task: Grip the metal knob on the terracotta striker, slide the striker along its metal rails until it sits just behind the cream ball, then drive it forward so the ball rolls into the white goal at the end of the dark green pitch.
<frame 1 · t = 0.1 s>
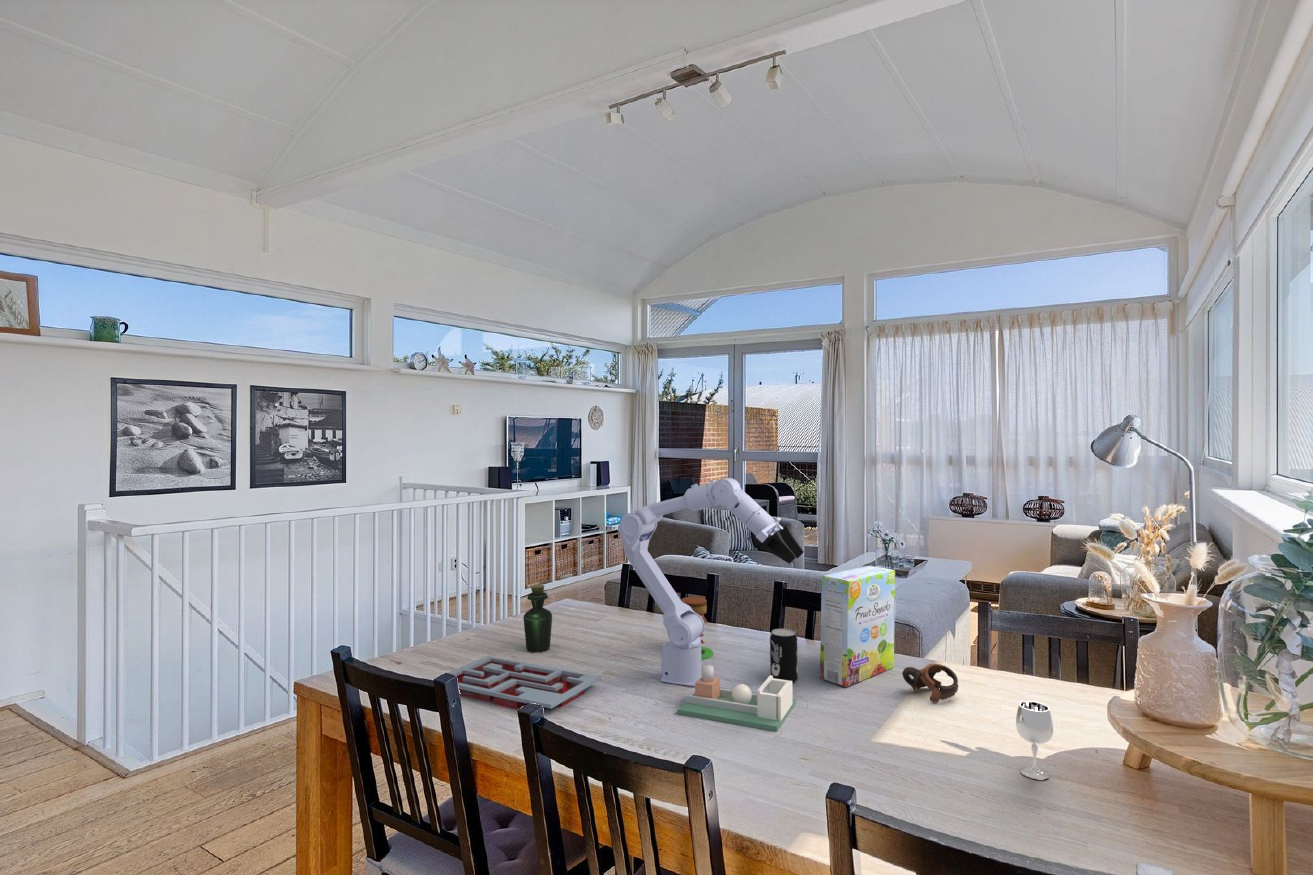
hand: (796, 557, 158), 32 cm above the table, tool tilted 50°, fingers open, 7 cm apart
toy burger: (694, 654, 190), on the table
beverage can: (784, 681, 169), on the table
brown curved loop: (930, 696, 158), on the table
wineglass: (1034, 775, 121), on the table
snack box: (858, 674, 173), on the table
ball: (741, 694, 151), point 3 cm above the table, touching pitch board
striker: (707, 682, 155), point 5 cm above the table, slide at 0.0 cm
goal: (775, 714, 148), resting on pitch board
maze game: (516, 691, 164), on the table
potion bottle: (538, 650, 195), on the table
pitch board: (737, 708, 152), on the table
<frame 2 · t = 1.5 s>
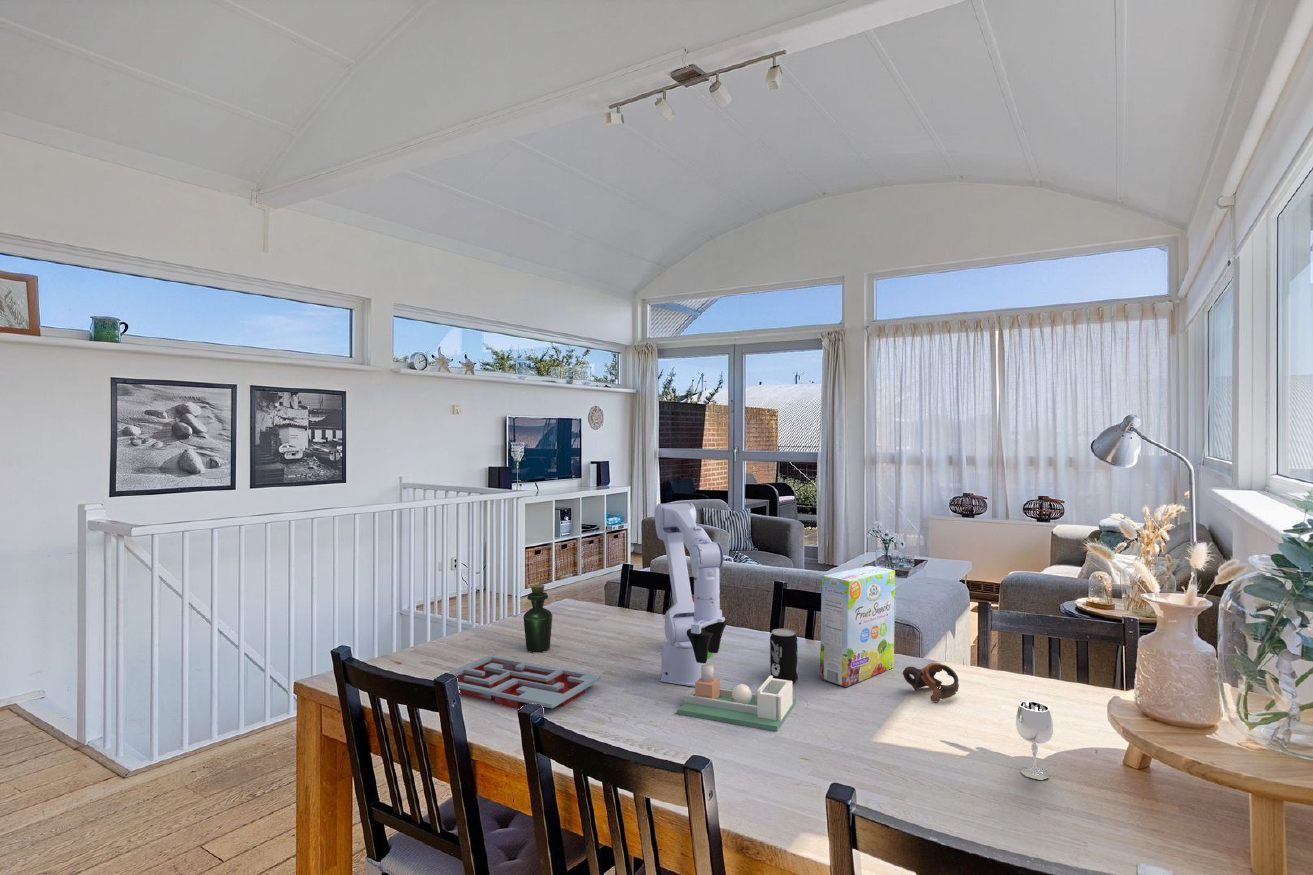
hand: (707, 657, 154), 10 cm above the table, tool pointing down, fingers open, 7 cm apart
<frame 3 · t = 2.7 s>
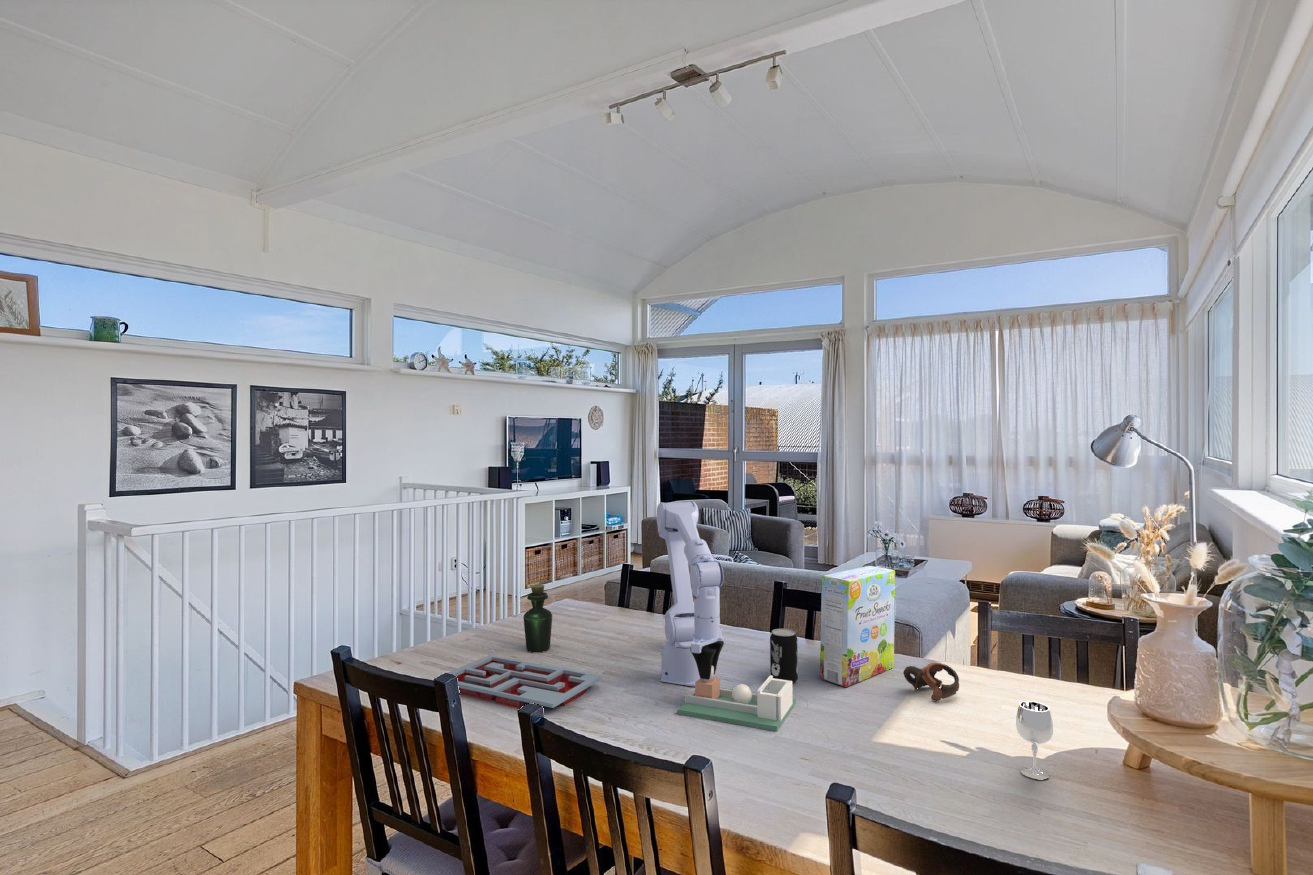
hand: (707, 676, 155), 6 cm above the table, tool pointing down, fingers closed on striker, 3 cm apart
striker: (707, 682, 155), point 5 cm above the table, slide at 0.0 cm, touching gripper
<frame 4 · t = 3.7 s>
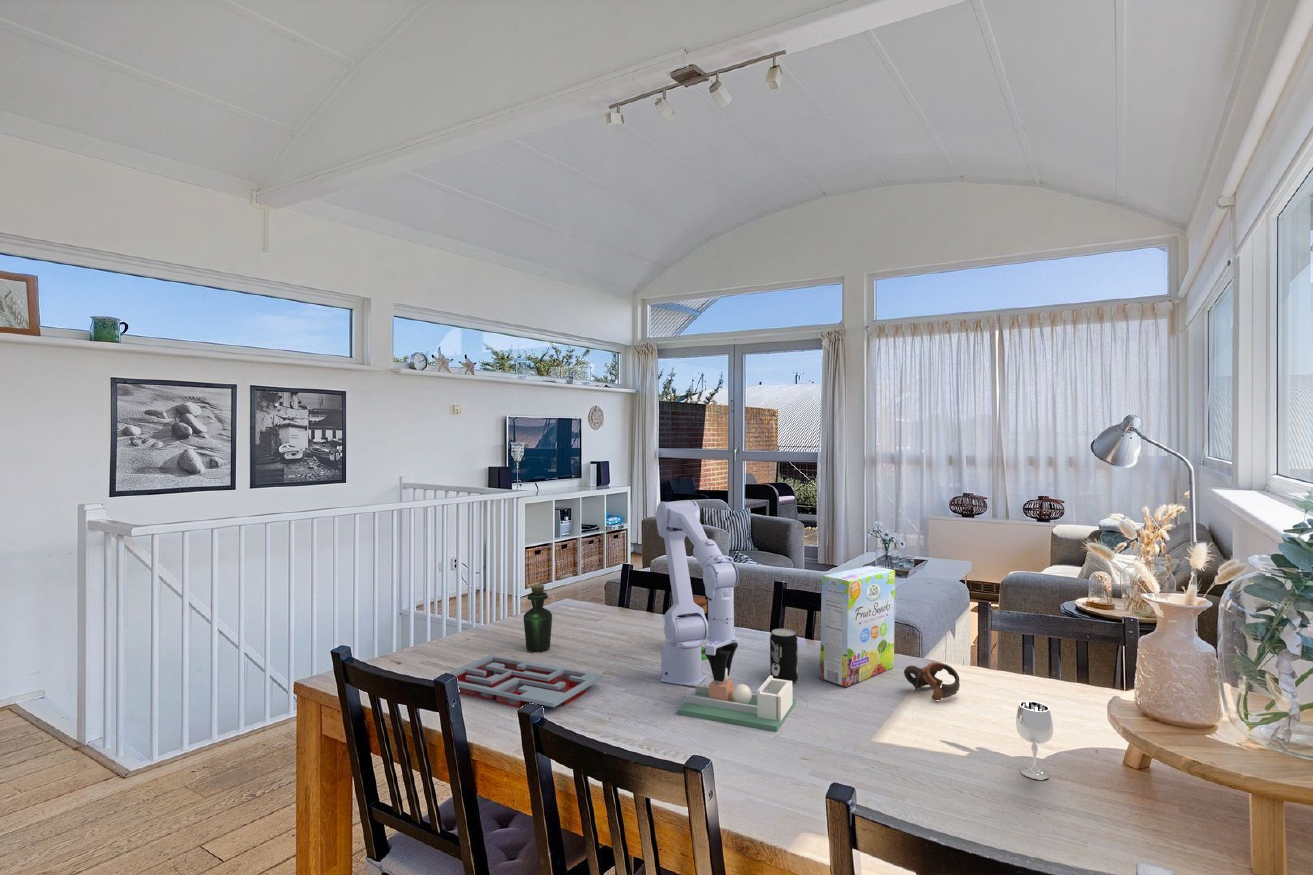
hand: (721, 678, 153), 6 cm above the table, tool pointing down, fingers closed on striker, 3 cm apart
striker: (721, 684, 153), point 5 cm above the table, slide at 3.2 cm, touching gripper
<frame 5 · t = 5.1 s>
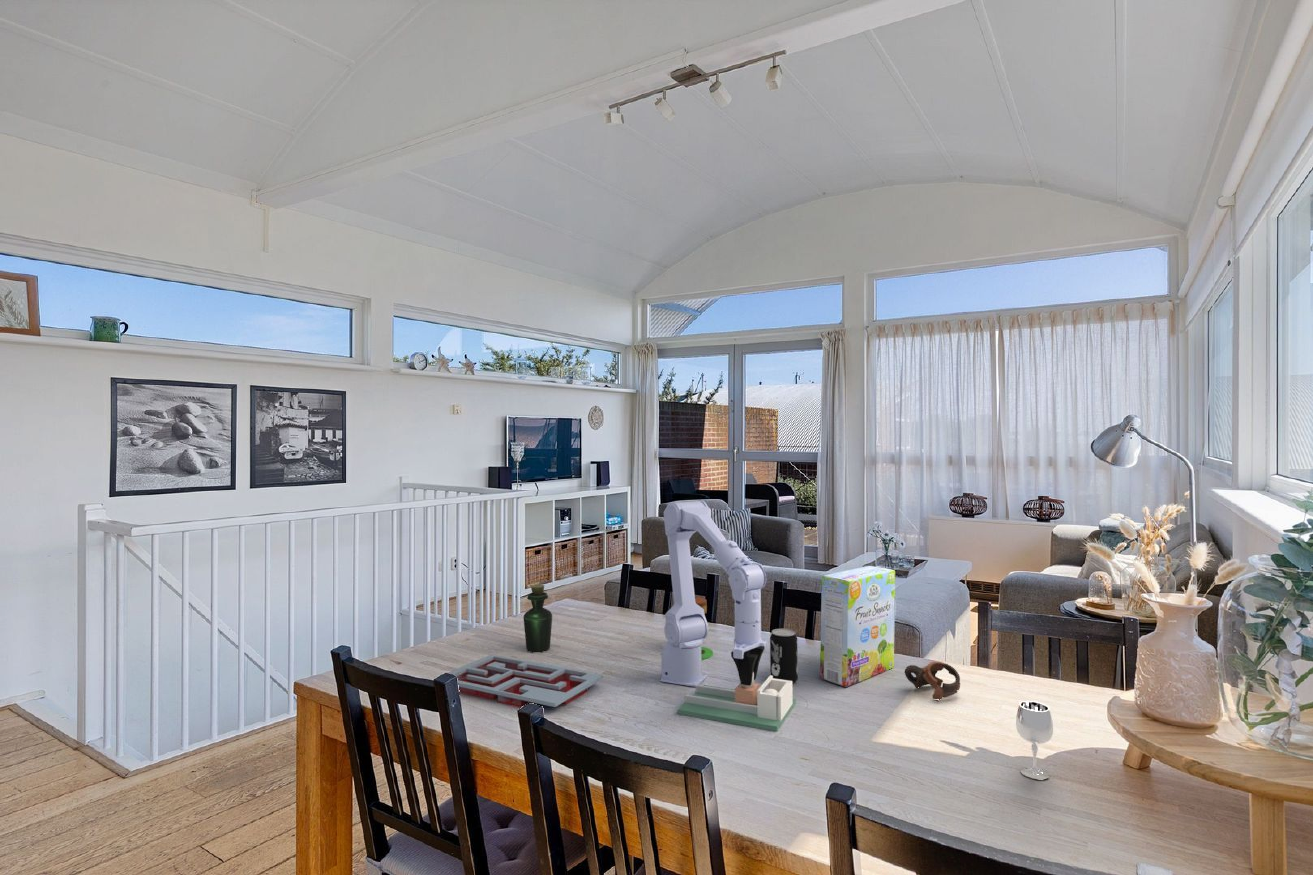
hand: (748, 681, 151), 6 cm above the table, tool pointing down, fingers closed on striker, 3 cm apart
ball: (771, 699, 148), point 3 cm above the table, tilted 170°, touching pitch board
striker: (747, 688, 151), point 5 cm above the table, slide at 9.3 cm, touching gripper
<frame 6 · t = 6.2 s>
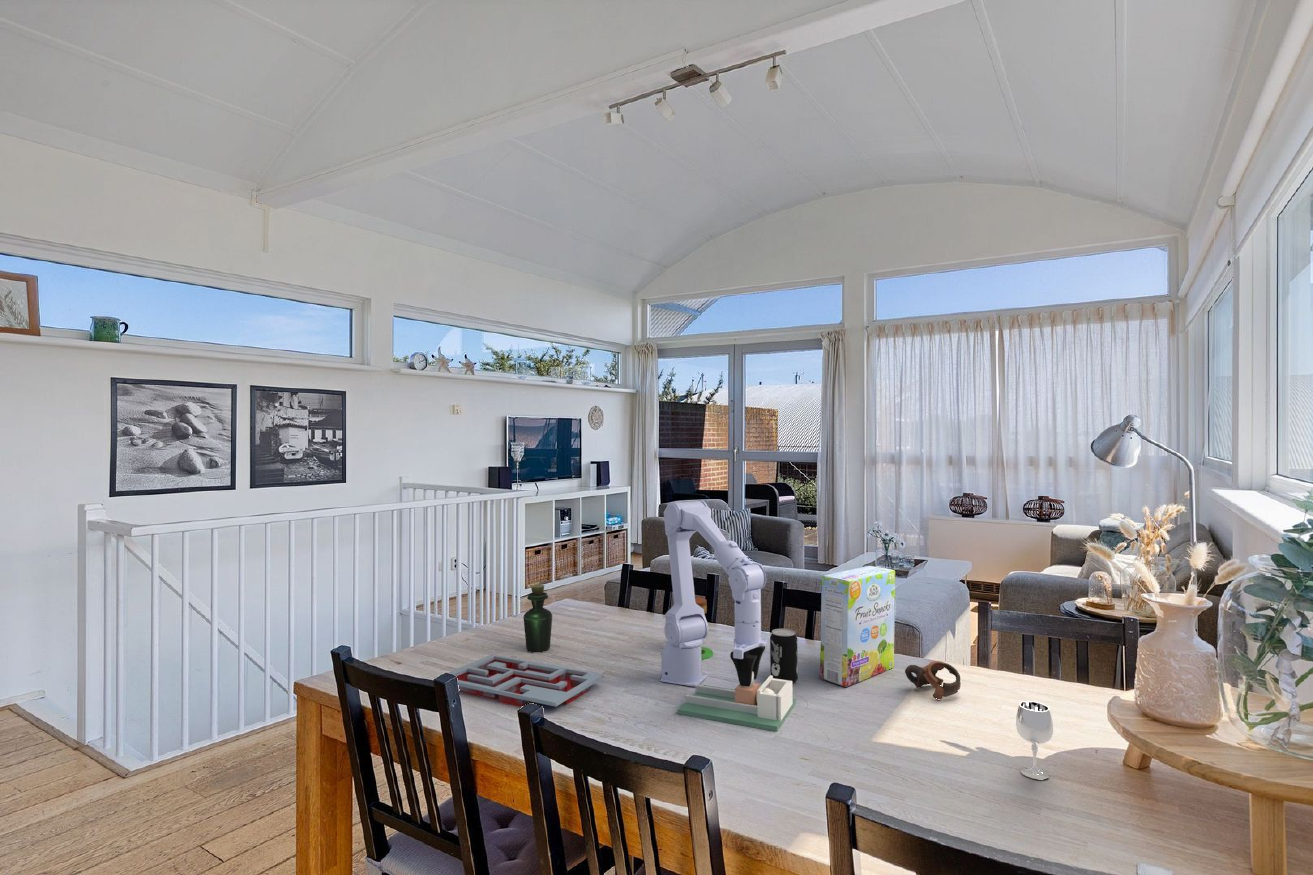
hand: (748, 682, 151), 6 cm above the table, tool pointing down, fingers open, 4 cm apart
ball: (766, 698, 149), point 3 cm above the table, tilted 141°, touching pitch board
striker: (747, 688, 151), point 5 cm above the table, slide at 9.3 cm
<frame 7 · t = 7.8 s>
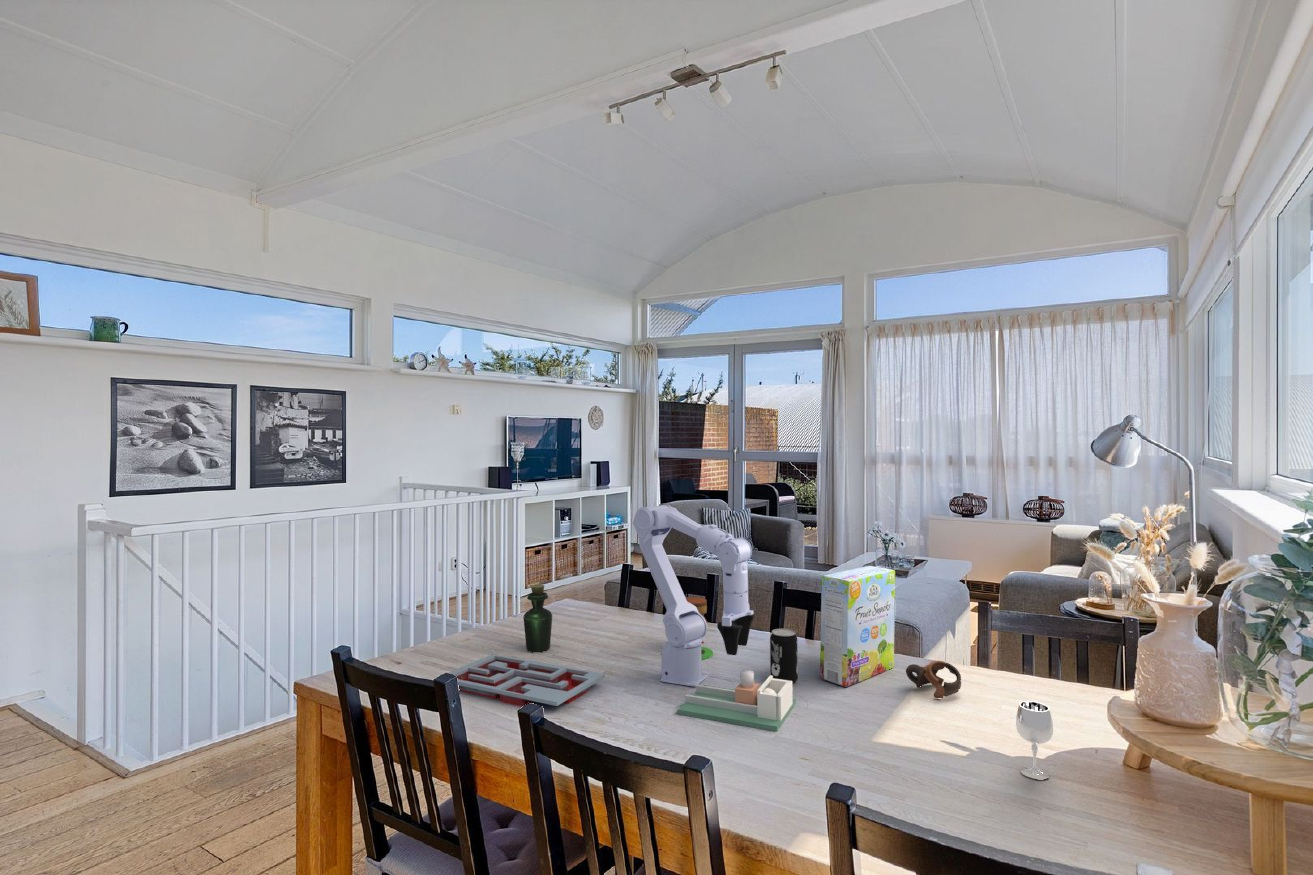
hand: (737, 649, 160), 10 cm above the table, tool pointing down, fingers open, 7 cm apart
ball: (767, 698, 149), point 3 cm above the table, tilted 150°, touching pitch board
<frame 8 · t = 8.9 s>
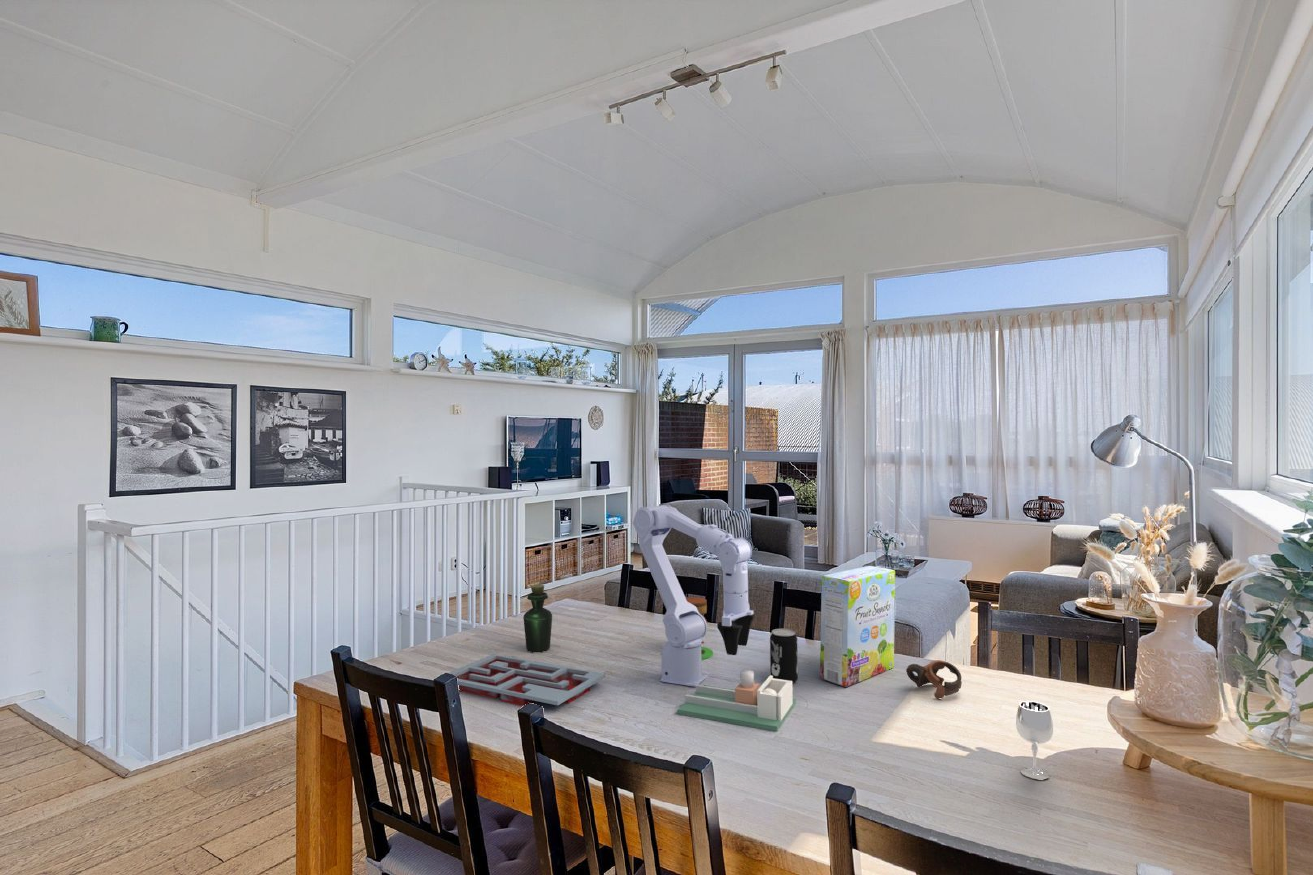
hand: (737, 649, 160), 10 cm above the table, tool pointing down, fingers open, 7 cm apart
ball: (768, 698, 149), point 3 cm above the table, tilted 156°, touching pitch board
at the end: ball 0.5 cm from the target spot, point 3.2 cm above the table; striker slide at 9.3 cm; the gripper is holding nothing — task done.
